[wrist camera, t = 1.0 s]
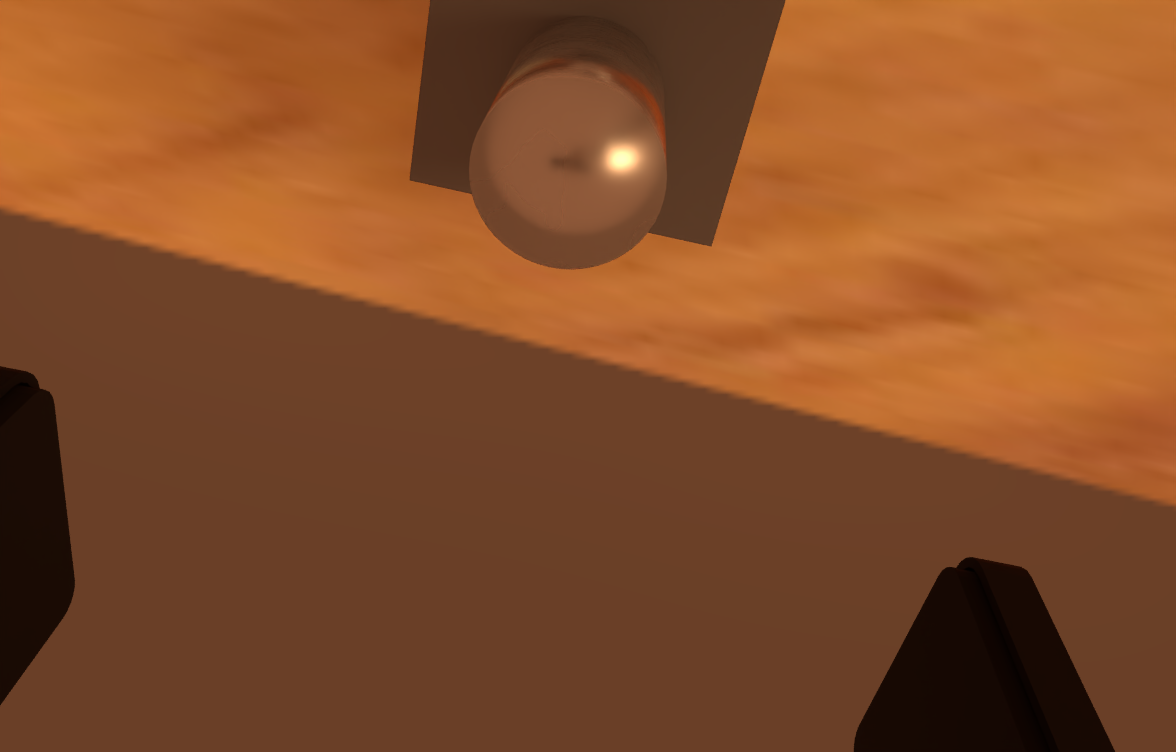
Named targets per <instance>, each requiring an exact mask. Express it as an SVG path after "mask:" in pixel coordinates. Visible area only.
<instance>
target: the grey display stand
mask: <svg viewBox="0 0 1176 752" xmlns="http://www.w3.org/2000/svg"><path fill="white" fill-rule="evenodd" d="M784 3H785V0H430V8H429V16H428V25H427V34H426V42H425V51H424V60H423V68H422V77H421V86H420V94H419V103H418V112H417V120H416V129H415V137H414V146H413V155H412V163H411V172H410V180H411V181H415V182H420V183H425V184H429V185H434V186H438V187H443V188H447V189H452V190H456V191H461V192H466V193H470V194H472V192H471V187H470V180H469V162H470V154H471V150H472V145H473V142H474V140H475V137H476V134H477V132H478V130H479V128H480V126H481V124H482V123H483V121H484V119H485V117H486V115H487V113H488V111H489V109H490V107H491V105H492V103H493V102H494V100H495V98H496V96H497V94H498V92H499V90H500V88H501V86H502V84H503V83H504V81H505V79H506V77H507V75H508V73H509V71H510V69H511V67H512V65H513V63H514V62H515V60H516V58H517V56H518V54H519V52H520V51H521V49H522V48H523V47H524V45H525V44H526V43H527V42H528V41H529V40H530V39H531V38H532V37H533V36H534V35H535V34H536V33H538V32H539V31H540V30H541V29H543V28H545V27H547V26H548V25H550V24H552V23H555V22H557V21H559V20H563V19H567V18H571V17H580V16H588V17H597V18H603V19H606V20H609V21H613V22H615V23H617V24H619V25H621V26H623V27H625V28H626V29H628V30H629V31H631V32H632V33H633V34H635V35H636V36H637V37H638V38H639V39H640V40H641V41H642V42H643V43H644V44H645V45H646V46H647V48H648V49H649V51H650V52H651V53H652V55H653V57H654V59H655V61H656V63H657V65H658V67H659V70H660V73H661V76H662V81H663V87H664V104H665V134H666V163H667V183H666V192H665V197H664V201H663V204H662V207H661V210H660V213H659V215H658V217H657V219H656V221H655V223H654V224H653V226H652V227H651V229H650V230H649V232H648V233H652V234H657V235H661V236H666V237H671V238H675V239H680V240H684V241H689V242H693V243H698V244H702V245H707V246H712V243H713V239H714V236H715V233H716V229H717V226H718V223H719V219H720V216H721V213H722V209H723V206H724V203H725V199H726V196H727V193H728V189H729V186H730V183H731V179H732V176H733V173H734V169H735V166H736V163H737V160H738V156H739V153H740V150H741V146H742V143H743V140H744V136H745V133H746V130H747V126H748V123H749V120H750V116H751V113H752V110H753V106H754V103H755V100H756V96H757V93H758V90H759V86H760V83H761V80H762V76H763V73H764V70H765V66H766V63H767V60H768V56H769V53H770V50H771V47H772V43H773V40H774V37H775V33H776V30H777V27H778V23H779V20H780V17H781V13H782V10H783V7H784Z"/></svg>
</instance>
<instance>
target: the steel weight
mask: <svg viewBox="0 0 1176 752" xmlns="http://www.w3.org/2000/svg"><path fill="white" fill-rule="evenodd" d="M469 180H470V187H471V192H472V196H473V199H474V202H475V205H476V207H477V209H478V212H479V214H480V216H481V218H482V219H483V221H484V222H485V224H486V225H487V227H488V228H489V229H490V231H491V232H492V233H493V234H494V235H495V237H496V238H497V239H498V240H500V241H501V242H502V243H503V244H504V245H505V246H506V247H508V248H509V249H510V250H512V251H513V252H515V253H516V254H518V255H520V256H522V257H523V258H525V259H527V260H530V261H532V262H535V263H537V264H540V265H544V266H547V267H553V268H559V269H583V268H589V267H594V266H598V265H601V264H604V263H607V262H610V261H612V260H614V259H616V258H618V257H620V256H622V255H623V254H625V253H626V252H628V251H629V250H631V249H632V248H633V247H634V246H635V245H636V244H638V243H639V242H640V241H641V240H642V239H643V237H644V236H645V235H646V234H647V233H648V232H649V230H650V229H651V227H652V226H653V224H654V223H655V221H656V219H657V217H658V215H659V213H660V210H661V207H662V204H663V201H664V197H665V192H666V183H667V163H666V134H665V104H664V87H663V81H662V76H661V73H660V70H659V67H658V65H657V63H656V61H655V59H654V57H653V55H652V53H651V52H650V51H649V49H648V48H647V46H646V45H645V44H644V43H643V42H642V41H641V40H640V39H639V38H638V37H637V36H636V35H635V34H633V33H632V32H631V31H629V30H628V29H626V28H625V27H623V26H621V25H619V24H617V23H615V22H613V21H609V20H606V19H603V18H597V17H588V16H580V17H571V18H567V19H563V20H559V21H557V22H555V23H552V24H550V25H548V26H547V27H545V28H543V29H541V30H540V31H539V32H538V33H536V34H535V35H534V36H533V37H532V38H531V39H530V40H529V41H528V42H527V43H526V44H525V45H524V47H523V48H522V49H521V51H520V52H519V54H518V56H517V58H516V60H515V62H514V63H513V65H512V67H511V69H510V71H509V73H508V75H507V77H506V79H505V81H504V83H503V84H502V86H501V88H500V90H499V92H498V94H497V96H496V98H495V100H494V102H493V103H492V105H491V107H490V109H489V111H488V113H487V115H486V117H485V119H484V121H483V123H482V124H481V126H480V128H479V130H478V132H477V134H476V137H475V140H474V142H473V145H472V150H471V154H470V162H469Z"/></svg>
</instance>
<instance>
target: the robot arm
mask: <svg viewBox="0 0 1176 752" xmlns="http://www.w3.org/2000/svg"><path fill="white" fill-rule="evenodd" d="M71 553H72V552H71V544H70V535H69V526H68V518H67V509H66V500H65V492H64V484H63V474H62V466H61V457H60V449H59V440H58V431H57V423H56V414H55V406H54V400H53V397H52V395H51V394H50V392H48V391H46V390H43V389H40V388H39V384H38V381H37V379H36V378H35V376H34V375H33V374H31V373H29V372H26V371H21V370H16V369H11V368H6V367H1V366H0V705H1V703H2V702H3V701H4V699H5V698H6V697H7V695H8V694H9V692H10V691H11V689H12V688H13V687H14V685H15V684H16V683H17V681H18V680H19V678H20V677H21V676H22V674H23V673H24V672H25V670H26V669H27V667H28V666H29V665H30V663H31V662H32V660H33V659H34V658H35V656H36V655H37V654H38V652H39V651H40V649H41V648H42V646H43V645H44V644H45V642H46V641H47V640H48V638H49V637H50V635H51V634H52V632H53V631H54V630H55V628H56V627H57V626H58V624H59V623H60V622H61V620H62V619H63V617H64V616H65V614H66V612H67V610H68V608H69V605H70V603H71V600H72V597H73V592H74V587H75V578H74V570H73V561H72V554H71ZM854 752H1115V750H1114V749H1113V746H1112V744H1111V742H1110V740H1109V738H1108V736H1107V734H1106V732H1105V730H1104V727H1103V725H1102V723H1101V721H1100V719H1099V717H1098V715H1097V713H1096V711H1095V709H1094V707H1093V704H1092V703H1091V700H1090V698H1089V696H1088V694H1087V692H1086V690H1085V688H1084V686H1083V684H1082V682H1081V679H1080V677H1079V675H1078V673H1077V671H1076V669H1075V667H1074V665H1073V663H1072V661H1071V659H1070V656H1069V654H1068V652H1067V650H1066V648H1065V646H1064V644H1063V642H1062V640H1061V638H1060V636H1059V633H1058V632H1057V629H1056V627H1055V625H1054V623H1053V621H1052V619H1051V617H1050V615H1049V613H1048V610H1047V608H1046V606H1045V604H1044V602H1043V600H1042V598H1041V596H1040V594H1039V592H1038V590H1037V587H1036V585H1035V583H1034V581H1033V579H1032V577H1031V576H1030V574H1029V573H1028V571H1027V570H1025V569H1024V568H1022V567H1019V566H1014V565H1009V564H1004V563H999V562H994V561H989V560H984V559H978V558H973V557H969V558H965V559H964V560H963V561H961V562H960V563H959V565H958V566H957V568H953V567H947V568H945V569H944V570H942V572H941V573H940V575H939V576H938V578H937V580H936V582H935V583H934V585H933V587H932V589H931V591H930V593H929V595H928V597H927V599H926V600H925V602H924V604H923V606H922V608H921V610H920V612H919V614H918V615H917V617H916V619H915V621H914V623H913V625H912V627H911V629H910V631H909V632H908V634H907V636H906V638H905V640H904V642H903V644H902V646H901V648H900V649H899V651H898V653H897V655H896V657H895V659H894V661H893V663H892V665H891V666H890V669H889V670H888V672H887V674H886V676H885V678H884V680H883V681H882V683H881V685H880V687H879V689H878V691H877V693H876V695H875V696H874V698H873V700H872V702H871V704H870V706H869V708H868V710H867V712H866V713H865V715H864V717H863V719H862V721H861V723H860V725H859V727H858V730H857V732H856V737H855V743H854Z"/></svg>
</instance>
